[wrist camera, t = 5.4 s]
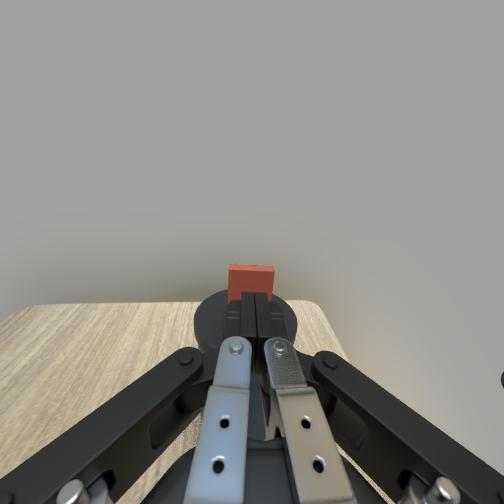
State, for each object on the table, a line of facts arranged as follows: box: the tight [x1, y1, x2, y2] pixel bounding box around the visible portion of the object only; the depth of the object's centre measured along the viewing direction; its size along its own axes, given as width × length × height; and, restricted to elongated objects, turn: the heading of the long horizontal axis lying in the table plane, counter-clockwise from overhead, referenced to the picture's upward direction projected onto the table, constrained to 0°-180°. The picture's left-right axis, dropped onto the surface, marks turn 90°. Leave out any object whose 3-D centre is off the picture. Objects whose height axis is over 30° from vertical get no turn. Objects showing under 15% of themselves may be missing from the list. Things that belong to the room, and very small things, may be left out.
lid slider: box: [223, 264, 274, 339], centre depth 18 cm, size 4×4×6 cm
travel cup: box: [194, 290, 297, 441], centre depth 23 cm, size 9×9×12 cm
